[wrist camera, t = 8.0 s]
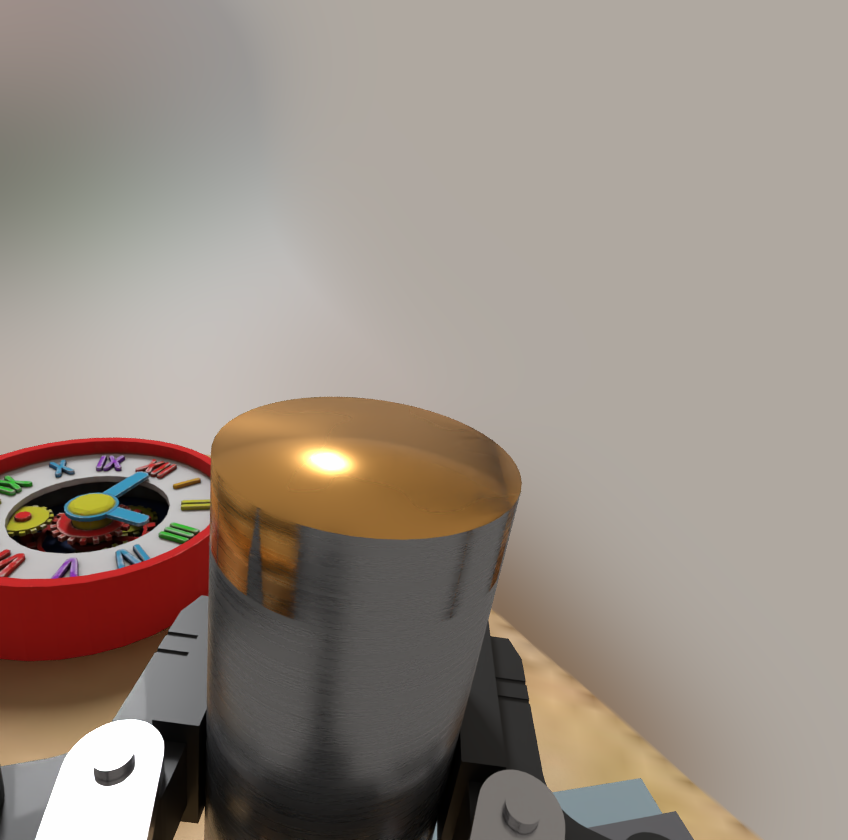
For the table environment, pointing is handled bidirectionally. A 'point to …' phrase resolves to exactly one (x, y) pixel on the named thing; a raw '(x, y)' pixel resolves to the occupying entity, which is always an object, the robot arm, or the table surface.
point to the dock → (619, 811)
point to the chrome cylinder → (345, 614)
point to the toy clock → (99, 544)
